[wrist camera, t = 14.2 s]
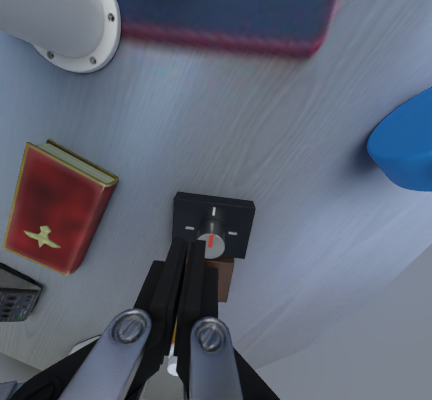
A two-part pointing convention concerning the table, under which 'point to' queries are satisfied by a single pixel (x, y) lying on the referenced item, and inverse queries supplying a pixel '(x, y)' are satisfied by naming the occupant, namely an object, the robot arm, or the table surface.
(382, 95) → the table surface
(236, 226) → the control panel
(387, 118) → the alarm clock
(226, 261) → the button block
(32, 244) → the hardcover book
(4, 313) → the electronic device
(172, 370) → the supplement bottle
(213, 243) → the timer knob
